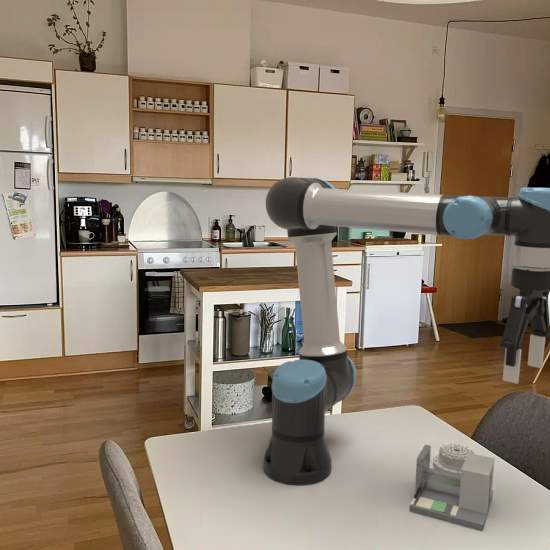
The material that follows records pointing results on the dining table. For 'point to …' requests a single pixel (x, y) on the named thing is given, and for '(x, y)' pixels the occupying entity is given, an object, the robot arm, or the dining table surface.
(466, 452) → the mechanical component
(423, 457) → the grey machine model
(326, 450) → the robot arm
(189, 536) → the dining table surface
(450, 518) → the gauge base
